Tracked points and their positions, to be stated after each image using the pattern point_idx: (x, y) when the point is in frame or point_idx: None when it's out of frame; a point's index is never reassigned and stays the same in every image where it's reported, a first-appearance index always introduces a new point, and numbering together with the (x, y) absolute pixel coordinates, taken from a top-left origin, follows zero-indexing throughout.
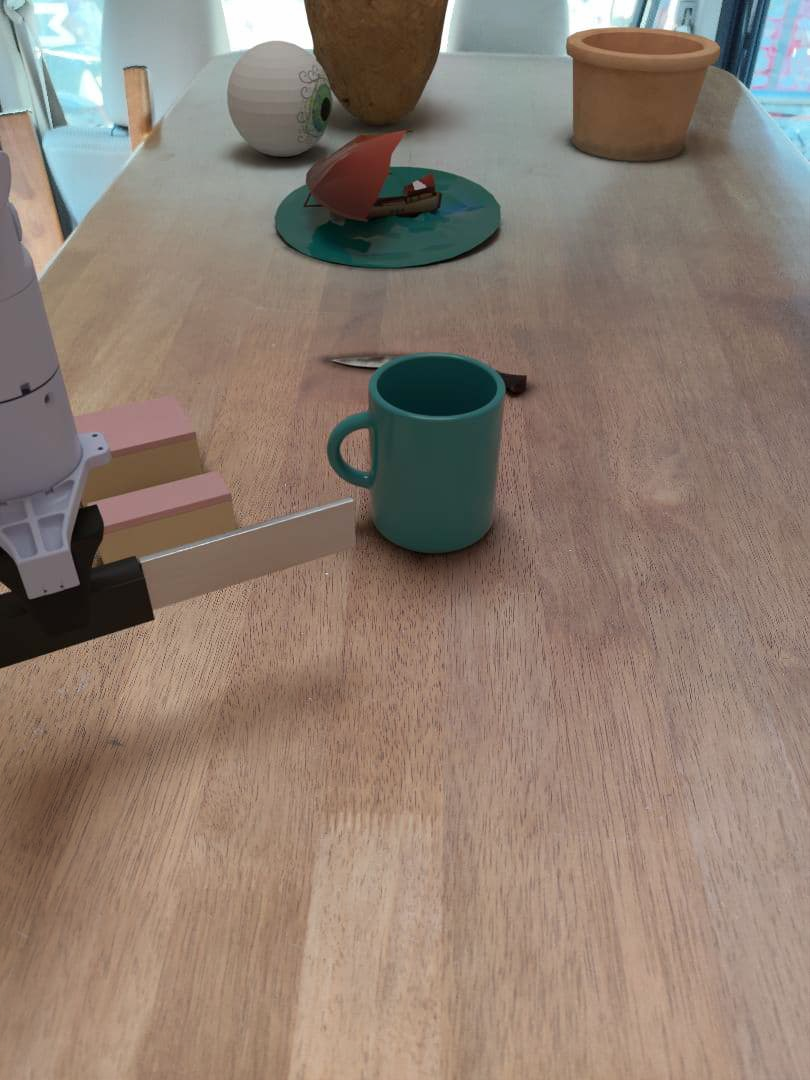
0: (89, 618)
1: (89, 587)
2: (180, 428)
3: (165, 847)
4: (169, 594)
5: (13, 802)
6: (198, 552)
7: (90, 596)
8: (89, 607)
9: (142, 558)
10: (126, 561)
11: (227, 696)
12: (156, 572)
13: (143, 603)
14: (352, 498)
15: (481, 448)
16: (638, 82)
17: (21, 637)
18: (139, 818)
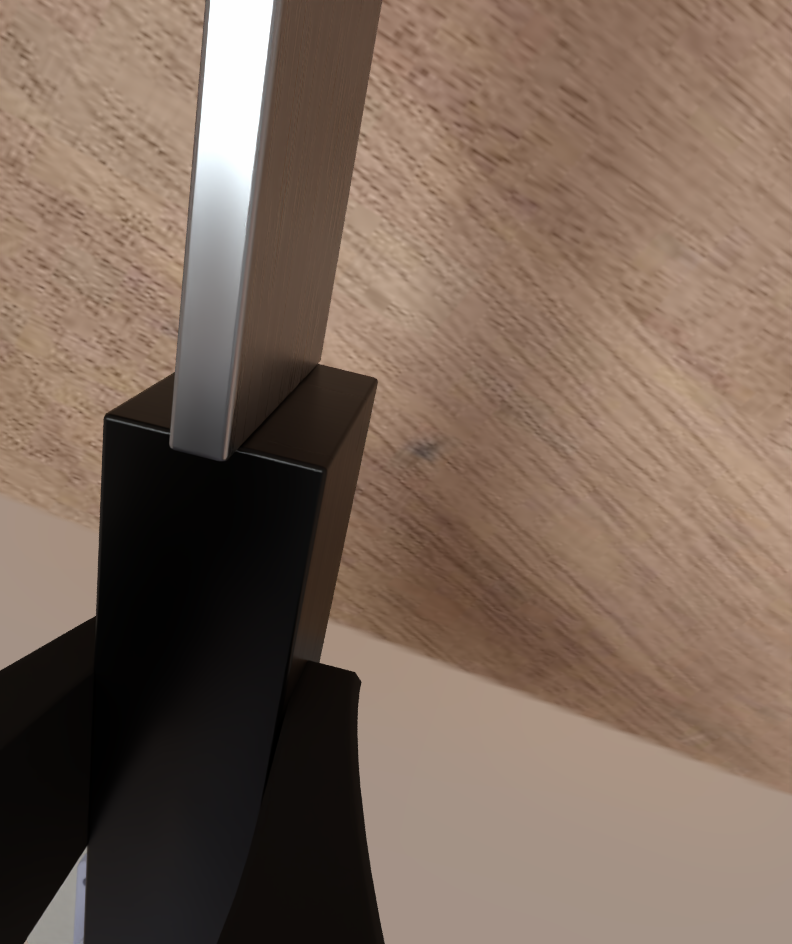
0: (352, 690)
1: (362, 853)
2: None
3: (746, 500)
4: (323, 284)
5: (431, 650)
6: (294, 44)
7: (351, 780)
8: (356, 739)
9: (188, 430)
10: (132, 477)
11: (474, 151)
12: (270, 355)
13: (354, 443)
14: None
15: None
16: None
17: None
18: (641, 505)
